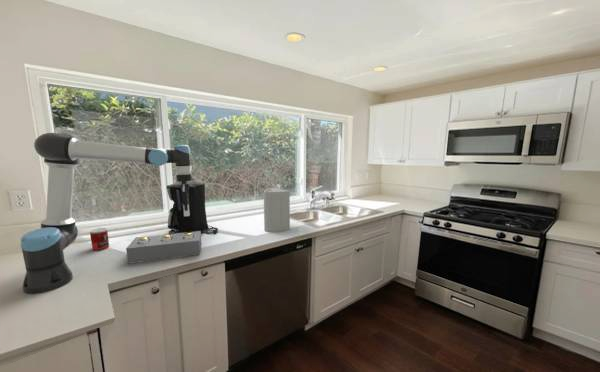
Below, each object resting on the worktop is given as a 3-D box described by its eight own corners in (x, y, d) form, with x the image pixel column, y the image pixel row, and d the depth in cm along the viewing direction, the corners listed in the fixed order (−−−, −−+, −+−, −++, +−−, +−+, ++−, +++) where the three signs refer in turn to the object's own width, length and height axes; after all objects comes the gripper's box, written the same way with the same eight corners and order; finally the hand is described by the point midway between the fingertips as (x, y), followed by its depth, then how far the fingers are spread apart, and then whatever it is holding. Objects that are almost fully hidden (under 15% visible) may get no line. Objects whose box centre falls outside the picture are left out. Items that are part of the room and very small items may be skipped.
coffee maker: (175, 226, 183) (171, 181, 177) (221, 224, 188) (218, 180, 183) (164, 237, 161) (159, 186, 155) (216, 235, 166) (213, 185, 161)
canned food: (100, 251, 140) (97, 232, 138) (88, 250, 142) (86, 231, 140) (112, 246, 148) (110, 228, 146) (101, 245, 149) (99, 227, 147)
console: (200, 254, 137) (199, 240, 135) (127, 263, 126) (126, 248, 125) (201, 243, 152) (200, 230, 150) (137, 250, 141) (135, 237, 140)
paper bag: (256, 228, 179) (255, 190, 174) (271, 223, 190) (271, 187, 185) (275, 234, 167) (274, 193, 162) (290, 229, 178) (290, 190, 173)
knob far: (193, 247, 141) (192, 234, 139) (184, 248, 139) (183, 235, 138) (193, 244, 145) (192, 231, 143) (185, 245, 143) (184, 232, 142)
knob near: (148, 252, 134) (147, 238, 132) (139, 253, 132) (137, 239, 131) (150, 249, 138) (149, 236, 137) (141, 250, 136) (140, 236, 135)
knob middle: (171, 249, 137) (170, 236, 136) (162, 250, 136) (161, 237, 135) (172, 246, 141) (171, 233, 140) (164, 247, 140) (162, 234, 139)
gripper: (190, 174, 130) (193, 218, 134) (192, 172, 142) (195, 212, 146) (174, 175, 128) (177, 219, 132) (177, 172, 140) (180, 213, 144)
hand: (186, 215), depth 139 cm, fingers closed
